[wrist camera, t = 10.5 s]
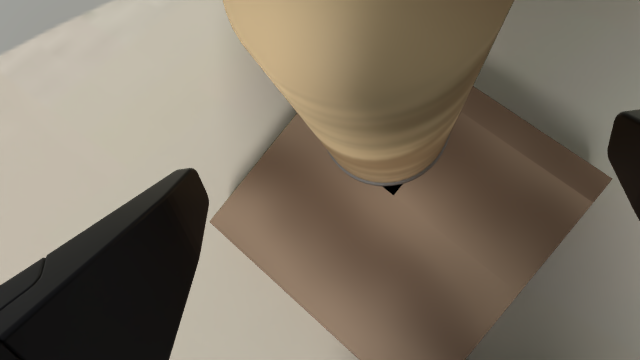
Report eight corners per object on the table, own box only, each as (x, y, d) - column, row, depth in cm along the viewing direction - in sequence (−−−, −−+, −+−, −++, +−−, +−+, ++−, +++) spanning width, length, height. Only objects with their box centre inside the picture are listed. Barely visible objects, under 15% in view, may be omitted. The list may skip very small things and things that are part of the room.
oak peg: (394, 215, 19) (385, 169, 7) (306, 143, 21) (160, -10, 8) (470, 124, 19) (609, -98, 7) (378, 57, 20) (345, -235, 8)
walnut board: (417, 396, 18) (419, 414, 16) (227, 223, 21) (209, 221, 19) (589, 185, 18) (612, 178, 16) (374, 39, 21) (372, 19, 19)
